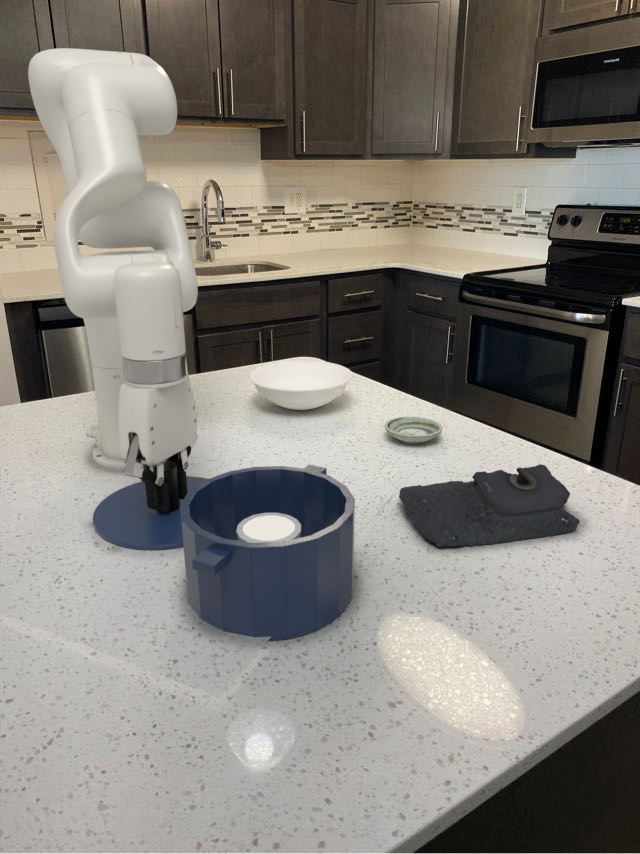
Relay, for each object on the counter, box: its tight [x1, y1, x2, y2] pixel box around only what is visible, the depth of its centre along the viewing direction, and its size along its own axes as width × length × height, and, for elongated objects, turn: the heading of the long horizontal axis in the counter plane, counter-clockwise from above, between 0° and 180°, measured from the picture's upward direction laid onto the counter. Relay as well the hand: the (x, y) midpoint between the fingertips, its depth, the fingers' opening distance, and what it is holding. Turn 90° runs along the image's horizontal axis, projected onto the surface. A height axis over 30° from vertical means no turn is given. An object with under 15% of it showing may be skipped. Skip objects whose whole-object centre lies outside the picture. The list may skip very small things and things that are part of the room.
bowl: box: [248, 359, 354, 411], centre depth 128 cm, size 20×20×6 cm
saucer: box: [384, 416, 443, 445], centre depth 112 cm, size 10×10×2 cm
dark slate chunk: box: [398, 464, 581, 548], centre depth 87 cm, size 15×22×5 cm
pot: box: [180, 464, 356, 642], centre depth 70 cm, size 18×23×10 cm
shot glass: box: [236, 513, 301, 543], centre depth 71 cm, size 7×7×7 cm
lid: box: [92, 460, 208, 551], centre depth 86 cm, size 19×19×7 cm
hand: (168, 501), depth 87 cm, fingers closed on lid, 3 cm apart
